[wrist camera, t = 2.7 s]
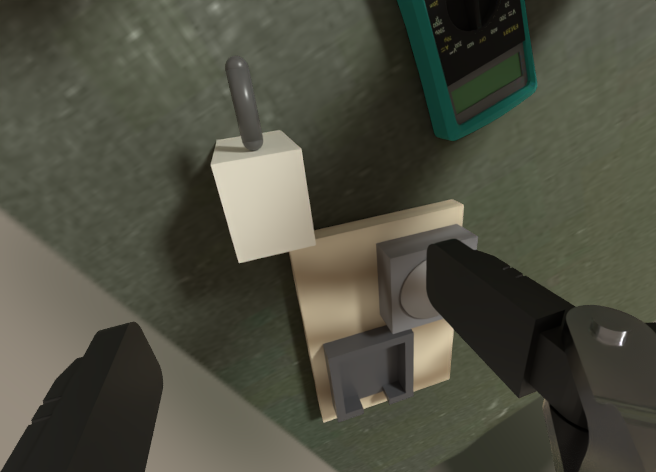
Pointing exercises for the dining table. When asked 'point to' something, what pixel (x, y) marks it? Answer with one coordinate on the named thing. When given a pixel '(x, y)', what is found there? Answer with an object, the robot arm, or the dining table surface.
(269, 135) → the plug
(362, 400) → the board
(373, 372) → the frame
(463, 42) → the digital multimeter
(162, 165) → the dining table surface
